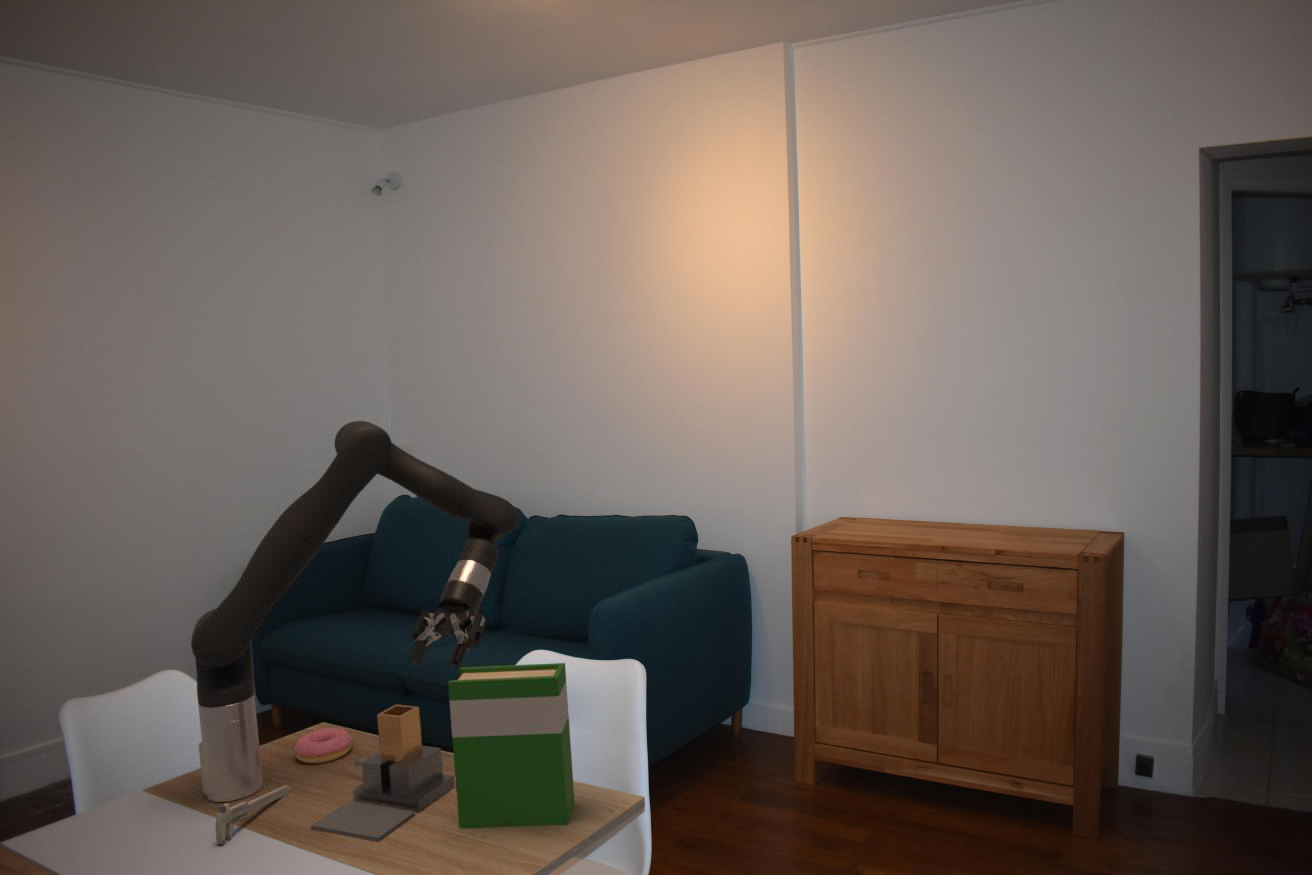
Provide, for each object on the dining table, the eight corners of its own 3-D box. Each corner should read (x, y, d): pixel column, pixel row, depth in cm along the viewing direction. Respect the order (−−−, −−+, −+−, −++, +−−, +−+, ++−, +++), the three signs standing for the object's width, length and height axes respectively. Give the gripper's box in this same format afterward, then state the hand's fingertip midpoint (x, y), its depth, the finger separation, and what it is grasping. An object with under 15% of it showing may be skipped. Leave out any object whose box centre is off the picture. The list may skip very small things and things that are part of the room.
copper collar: (380, 759, 158) (377, 714, 157) (399, 747, 162) (396, 704, 162) (403, 762, 156) (400, 717, 155) (422, 750, 160) (418, 706, 160)
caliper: (223, 847, 144) (219, 809, 144) (217, 847, 145) (213, 809, 144) (293, 789, 165) (290, 755, 164) (288, 789, 165) (285, 755, 164)
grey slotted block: (340, 799, 159) (334, 726, 158) (379, 774, 168) (373, 706, 167) (419, 812, 152) (412, 736, 151) (454, 786, 161) (449, 715, 160)
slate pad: (311, 828, 148) (310, 825, 148) (349, 803, 157) (349, 800, 157) (378, 841, 143) (378, 837, 143) (415, 814, 151) (414, 811, 151)
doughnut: (320, 770, 172) (318, 749, 172) (282, 761, 178) (281, 740, 178) (365, 748, 182) (363, 728, 181) (328, 740, 187) (326, 720, 187)
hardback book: (459, 827, 146) (448, 682, 144) (471, 806, 153) (460, 667, 151) (567, 824, 145) (557, 677, 143) (574, 802, 152) (564, 662, 150)
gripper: (426, 577, 178) (392, 651, 168) (487, 579, 172) (456, 656, 162) (445, 597, 183) (413, 670, 173) (504, 600, 177) (475, 676, 168)
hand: (434, 663), depth 168 cm, fingers open, 8 cm apart
